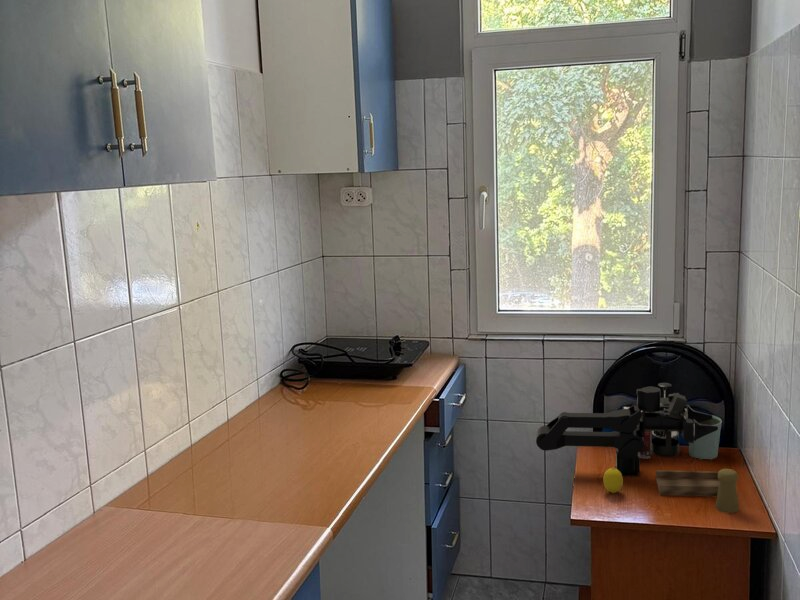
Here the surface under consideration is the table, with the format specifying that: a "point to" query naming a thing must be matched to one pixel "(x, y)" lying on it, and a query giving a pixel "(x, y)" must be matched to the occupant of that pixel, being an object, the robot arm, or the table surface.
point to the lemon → (613, 480)
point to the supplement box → (646, 449)
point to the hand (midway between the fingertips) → (715, 422)
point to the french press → (661, 437)
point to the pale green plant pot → (707, 442)
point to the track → (687, 483)
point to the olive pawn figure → (727, 491)
